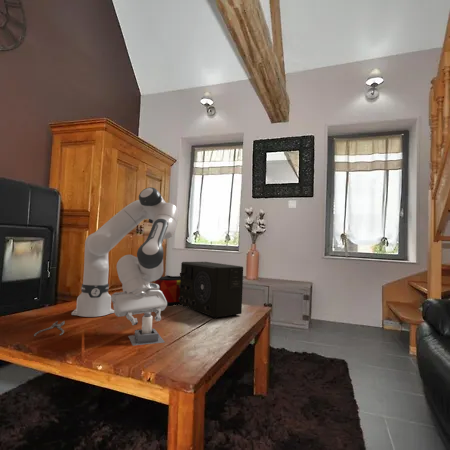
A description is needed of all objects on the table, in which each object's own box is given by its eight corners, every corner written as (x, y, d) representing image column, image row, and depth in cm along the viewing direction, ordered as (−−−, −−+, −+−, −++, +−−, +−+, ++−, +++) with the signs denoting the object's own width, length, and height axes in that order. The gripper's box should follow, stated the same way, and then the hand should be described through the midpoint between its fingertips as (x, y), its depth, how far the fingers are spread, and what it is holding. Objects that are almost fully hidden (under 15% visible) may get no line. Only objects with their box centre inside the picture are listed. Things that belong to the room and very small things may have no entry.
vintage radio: (173, 305, 173) (175, 261, 174) (201, 302, 184) (203, 261, 186) (210, 320, 143) (213, 267, 144) (242, 316, 155) (244, 266, 156)
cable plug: (140, 337, 110) (141, 312, 110) (150, 337, 111) (151, 311, 112) (142, 340, 106) (143, 314, 107) (152, 340, 108) (153, 313, 108)
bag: (191, 299, 195) (193, 273, 196) (203, 303, 184) (204, 275, 185) (147, 303, 177) (148, 274, 178) (157, 307, 166) (159, 277, 167)
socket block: (128, 338, 111) (128, 328, 112) (157, 336, 116) (158, 326, 116) (132, 348, 101) (133, 337, 102) (164, 345, 106) (165, 335, 106)
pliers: (33, 336, 108) (38, 322, 126) (32, 339, 108) (38, 324, 126) (63, 334, 112) (65, 320, 130) (63, 336, 112) (64, 322, 130)
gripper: (112, 287, 109) (123, 321, 101) (162, 284, 123) (174, 313, 115) (106, 298, 112) (116, 331, 104) (155, 293, 126) (167, 322, 118)
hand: (147, 322), depth 110 cm, fingers open, 8 cm apart
